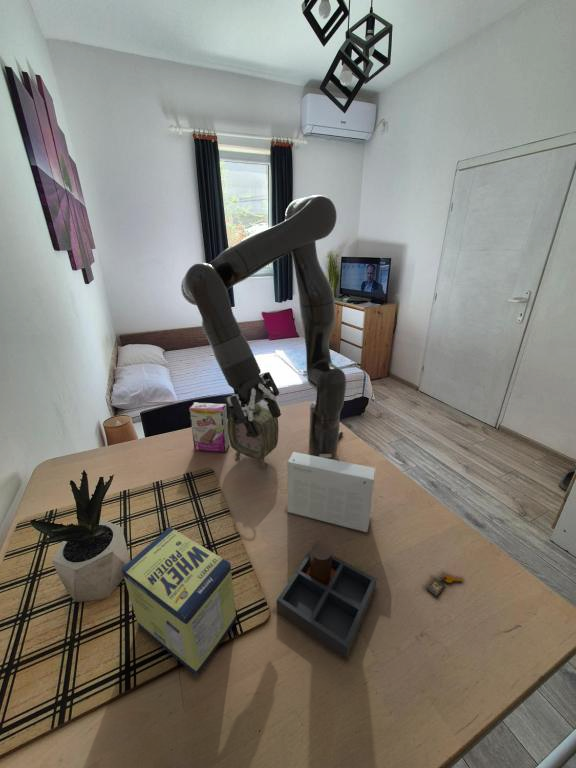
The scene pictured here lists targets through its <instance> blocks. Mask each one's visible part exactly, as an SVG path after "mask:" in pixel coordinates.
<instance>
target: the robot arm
mask: <svg viewBox="0 0 576 768" xmlns="http://www.w3.org/2000/svg"><path fill="white" fill-rule="evenodd" d="M284 217H285V218H284V221H282V222H280V223H277V224H276V225H274V226H271V227H269V228H265V229H263V230H261V231H259V232H257V233H254V234H251V235H249V236H247V237H245V238H243V239H241V240H240V241H237V242H236V243H234V244H233V245H231V246H229V247H227V248H226V249H224V250H223V251H221V252H220V253H219V254H218V255H217V257H215V258H214V259H213V260H211V261H210V262H208V263H207V262H198V263H194V264H193V265H191V266H190V267H189V268H188V270H187V271H186V273H185V275H184V277H183V278H182V280H181V284H180V286H181V287H180V289H181V294H182V296H183V298H184V299H185V301H187V302H188V303H189V304H191V305H193V306H196V307H197V309H198V311H199V314H200V316H201V326H202V330H203V332H204V334H205V337H206V339H207V341H208V343H209V345H210V347H211V349H212V351H213V355H214V358H215V360H216V362H217V364H218V366H219V368H220V371H221V372H222V375H223V376H224V378H225V379H224V380H225V381H226V383H227V385H228V386H229V387H231V388H232V390H233V395H231V396H227V397H225V398H224V404H226V408H227V409H228V412H229V414H231V417H232V419H233V421H234V423H235V424H241V423H243V424H244V425H245V427H246V429H247V431H248V433H249V435H250V436H252V437H258V436H259V435H260V431H259V429H258V427H257V425H256V423H255V421H254V420H253V410H254V408H255V404H256V403H257V402H258V401H259V400H261V399H262V400H261V401H264V402H266V406H267V409H269V411H270V413H271V415H272V417H273V418H276V417H278V418H280V417H282V416H281V415H282V413H281V409H280V407H279V405H278V403H277V396H279V395H280V391H279V388H278V386H277V385H276V383H275V380H274V378H273V377H272V375H271V373H270V372H269V371H267V372H262V371H261V370H262V369H261V368H260V366H259V363H258V362H257V359H256V356H255V355H254V353H253V350H252V348H251V346H250V343H249V342H248V340H247V338H246V337H245V335H244V334H243V332H242V329H241V328H240V325H239V322H238V321H237V318H236V317H235V315H234V312H233V308H232V304H231V300H230V296H229V293H228V291H229V289H230V288H232V287H234V286H235V285H237V284H240V283H241V282H243V281H245V280H247V279H248V278H250V277H252V276H253V275H254V274H255V275H256V273H258V272H260V271H261V270H262V269H264V268H266V267H267V266H269V265H270V264H272V263H274V262H275V261H277V260H279V259H281V258H282V257H284V256H286V255H288V254H290V253H291V256H292V257H291V258H292V261H293V266H294V272H295V273H294V274H295V279H296V286H297V287H296V288H297V293H298V302H299V303H298V304H299V310H300V318H301V325H302V331H303V332H302V333H303V338H304V339H303V340H304V344H305V357H306V361H305V362H306V363H305V365H306V379H307V382H308V384H309V386H310V387H311V388H312V389H313V390H315V391H316V398H315V399H316V400H314V401H313V402H311V404H310V406H309V428H308V429H309V431H308V432H309V433H308V455H312V456H317V457H322V458H327V459H332V460H337V461H338V451H339V450H338V448H339V440H340V439H341V437H342V436H343V434H344V432H342V431H340V424H341V423H340V422H341V421H340V420H341V412H342V409H343V408H344V405H345V398H346V391H347V390H346V389H347V376H346V374H345V372H344V371H343V370H342V369H341V368H339V367H338V366H336V365H335V364H334V363H333V361H332V358H331V350H330V339H331V336H332V332H333V330H334V327H335V323H336V305H335V304H336V303H335V302H336V301H335V294H334V290H333V287H332V285H331V283H330V281H329V279H328V278H327V276H326V274H325V272H324V270H323V268H322V266H321V264H320V261H319V258H318V253H317V243H316V241H319V240H322V239H325V238H327V237H328V236H330V234H331V233H332V232H333V231H334V229H335V227H336V223H337V219H338V213H337V209H336V206H335V203H334V202H333V201H332V200H331V199H330V198H329V197H327V196H325V195H321V194H316V195H315V194H314V195H309V196H306V197H301V198H297V199H294V200H292V201H291V202H290V203H289V205H288V206H287V208H286V211H285V216H284ZM261 372H262V373H261ZM245 404H246V405H248V406H246V407H245ZM246 412H247V416H246ZM237 414H238V416H239V418H238V416H237Z"/></svg>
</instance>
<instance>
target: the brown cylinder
mask: <svg viewBox="0 0 576 768" xmlns="http://www.w3.org/2000/svg"><path fill="white" fill-rule="evenodd" d="M310 550H311V555H310V577H312V578H314V579H315V580H317V581H319V582H320V583H322V584H324V585H325V586H326V585H328V584H329V582H330V579H331V567H332V555H333V554H334V553H333V552H334V551H333V547H332V546H331V544H330V543H328V542H327V541H324V540H318V541H317V540H316V541H314V542H313V543H312V545H311V547H310ZM333 556H334V555H333Z"/></svg>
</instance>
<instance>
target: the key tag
mask: <svg viewBox="0 0 576 768" xmlns="http://www.w3.org/2000/svg"><path fill="white" fill-rule="evenodd" d="M442 581H445V582H446V583H447V584H452V583H454V582H462V581H463V579H462V578H457V577H453V576H450V575H449V574H444V575H443V576H442V577H440V579H437V578H436V577H434V578H433V580H432V581H431V582H430V584H429V585H428V586H427V588H426V590H427V591H428V592H429V593H431V594H432V595H433V596H435V597H437V598H438V596H439V595H440V593H441V592H442V591H443V589H444V588H445V587H446V584H444V583H443V582H442Z"/></svg>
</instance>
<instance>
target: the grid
mask: <svg viewBox="0 0 576 768" xmlns="http://www.w3.org/2000/svg"><path fill="white" fill-rule="evenodd" d="M310 555H311V549H310V550H309V552H308V553H307V554H306V556H305V557H304V559H303V560H302V562H301V564H300V565H299V567H298V568H297V569H296V571H295V572H294V574H293V575H292V577H291V578H290V579H289V581H288V583H287V584H286V585H285V587H284V588H283V590H282V591H281V593H280V595H279V596H278V597H277V599H276V612H277V613H278V614H280V615H281V616H282V617H284V618H285V619H287V620H288V621H290V622H291V623H293V624H294V625H295V626H297V627H298V628H300V629H301V630H303V631H304V632H305V633H307V634H308V635H310V636H311V637H312V638H314V639H316V640H317V641H318V642H320V644H323V645H324V646H325V647H327V648H328V649H329V650H331V651H333V652H334V653H335V654H337V655H339V657H341V658H343V659H344V660H347V659H348V656H349V654H350V651H351V649H352V647H353V644H354V642H355V640H356V637H357V635H358V632H359V630H360V627H361V625H362V623H363V620H364V617H365V615H366V613H367V611H368V608H369V605H370V603H371V600H372V599H373V596H374V593H375V591H376V585H377V581H378V580H377V578H376V577H374V576H372V575H370V574H368V573H367V572H364V571H362V570H360V569H359V568H357V567H355V566H353V565H351V564H350V563H347V562H346V561H344V560H341V559H340V558H338V557H336V556H335V555H332V567H331V579H330V582H329V584H328V585H326V586H325V585H324V584H322V583H320V582H319V581H317V580H315V579H314V578H312V577H310Z"/></svg>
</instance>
